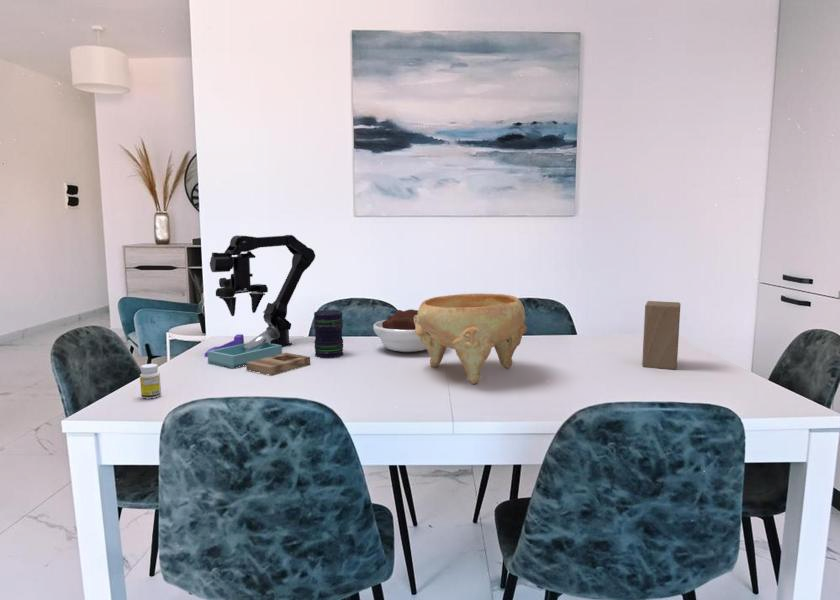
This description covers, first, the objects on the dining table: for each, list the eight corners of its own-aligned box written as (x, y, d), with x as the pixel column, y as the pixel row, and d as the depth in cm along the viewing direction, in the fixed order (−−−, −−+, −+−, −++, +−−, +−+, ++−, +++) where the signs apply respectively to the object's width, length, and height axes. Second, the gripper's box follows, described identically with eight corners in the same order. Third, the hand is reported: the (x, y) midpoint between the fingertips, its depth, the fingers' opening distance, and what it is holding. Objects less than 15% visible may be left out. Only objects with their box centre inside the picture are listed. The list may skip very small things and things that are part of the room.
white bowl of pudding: (361, 354, 199) (361, 311, 197) (390, 341, 222) (389, 302, 220) (429, 360, 190) (429, 315, 188) (451, 345, 214) (451, 305, 212)
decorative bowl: (462, 353, 200) (463, 288, 197) (548, 371, 176) (550, 297, 173) (389, 370, 177) (389, 297, 174) (476, 394, 152) (477, 308, 149)
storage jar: (309, 356, 196) (307, 313, 194) (324, 351, 205) (323, 309, 203) (334, 359, 192) (333, 315, 190) (348, 353, 201) (347, 311, 199)
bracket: (244, 352, 204) (243, 333, 203) (240, 356, 197) (240, 337, 197) (209, 353, 203) (208, 334, 202) (204, 357, 196) (203, 338, 195)
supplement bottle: (145, 394, 153) (143, 363, 152) (163, 393, 153) (162, 363, 152) (138, 399, 148) (136, 367, 147) (157, 399, 148) (155, 367, 147)
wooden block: (677, 363, 186) (680, 302, 183) (676, 370, 177) (680, 306, 174) (644, 360, 190) (647, 300, 187) (642, 367, 181) (645, 304, 178)
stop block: (286, 360, 191) (286, 352, 191) (310, 364, 185) (310, 356, 184) (246, 370, 177) (246, 362, 177) (270, 375, 171) (270, 367, 171)
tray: (256, 352, 203) (256, 341, 203) (282, 356, 196) (281, 345, 195) (208, 363, 187) (207, 351, 186) (233, 368, 179) (233, 356, 179)
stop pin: (249, 360, 193) (276, 340, 203) (254, 353, 190) (281, 334, 199) (239, 348, 193) (266, 329, 203) (244, 342, 190) (272, 322, 199)
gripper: (248, 268, 215) (249, 309, 217) (204, 271, 200) (207, 315, 202) (268, 269, 209) (269, 311, 211) (225, 273, 194) (227, 318, 196)
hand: (243, 314), depth 205 cm, fingers open, 9 cm apart
